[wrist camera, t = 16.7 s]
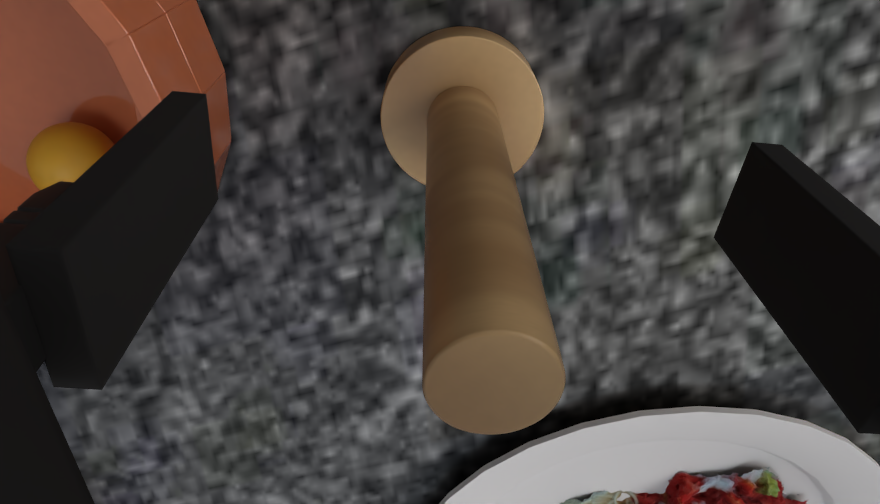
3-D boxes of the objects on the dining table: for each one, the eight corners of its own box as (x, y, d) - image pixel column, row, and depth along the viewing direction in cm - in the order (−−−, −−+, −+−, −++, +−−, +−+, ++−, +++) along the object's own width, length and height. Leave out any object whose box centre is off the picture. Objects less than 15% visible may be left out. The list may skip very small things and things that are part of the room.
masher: (457, -12, 21) (495, 173, 9) (570, 101, 24) (729, 378, 11) (351, 111, 24) (260, 396, 11) (463, 203, 26) (493, 527, 13)
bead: (81, 112, 24) (1, 118, 21) (137, 126, 23) (62, 135, 20) (85, 186, 25) (10, 201, 22) (140, 203, 24) (68, 221, 21)
